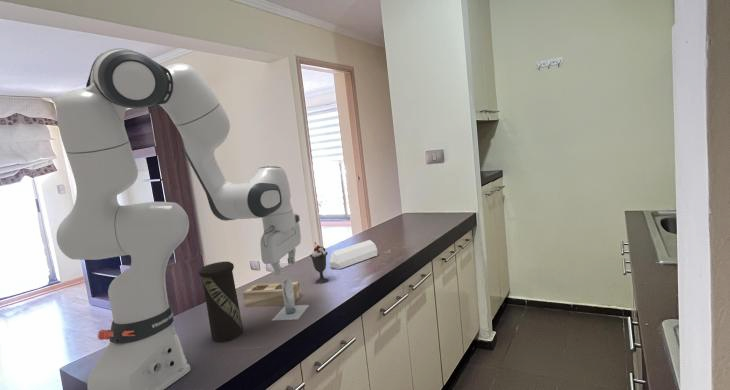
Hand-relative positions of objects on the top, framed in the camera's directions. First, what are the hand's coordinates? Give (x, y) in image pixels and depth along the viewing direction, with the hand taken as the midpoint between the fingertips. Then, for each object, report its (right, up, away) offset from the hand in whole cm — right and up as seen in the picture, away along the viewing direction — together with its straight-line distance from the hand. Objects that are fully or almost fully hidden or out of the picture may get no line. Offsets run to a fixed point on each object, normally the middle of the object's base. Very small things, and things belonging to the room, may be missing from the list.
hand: (285, 268), depth 113 cm
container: (-14, -17, -9) cm, 23 cm away
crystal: (+19, -7, +49) cm, 53 cm away
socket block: (-7, -13, +13) cm, 20 cm away
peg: (+1, -13, +1) cm, 13 cm away
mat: (+1, -14, +1) cm, 14 cm away
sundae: (+8, -10, +28) cm, 31 cm away
